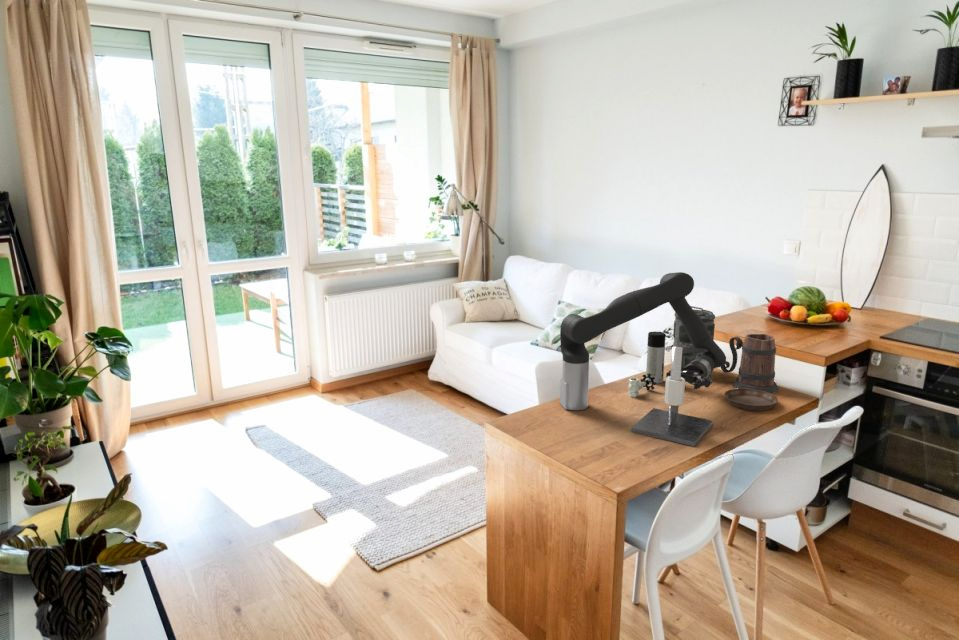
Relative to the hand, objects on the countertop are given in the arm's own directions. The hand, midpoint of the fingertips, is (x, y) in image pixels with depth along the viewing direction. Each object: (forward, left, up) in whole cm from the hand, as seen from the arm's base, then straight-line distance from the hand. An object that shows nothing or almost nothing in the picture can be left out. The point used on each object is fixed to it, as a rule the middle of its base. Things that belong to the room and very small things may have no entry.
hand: (682, 384), depth 201 cm
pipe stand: (-5, -5, -13) cm, 15 cm away
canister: (+31, +46, -13) cm, 57 cm away
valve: (-1, +28, -13) cm, 31 cm away
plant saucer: (+33, +9, -14) cm, 36 cm away
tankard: (+44, +28, -13) cm, 54 cm away
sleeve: (-5, -5, -4) cm, 8 cm away
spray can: (+11, +39, -13) cm, 43 cm away
